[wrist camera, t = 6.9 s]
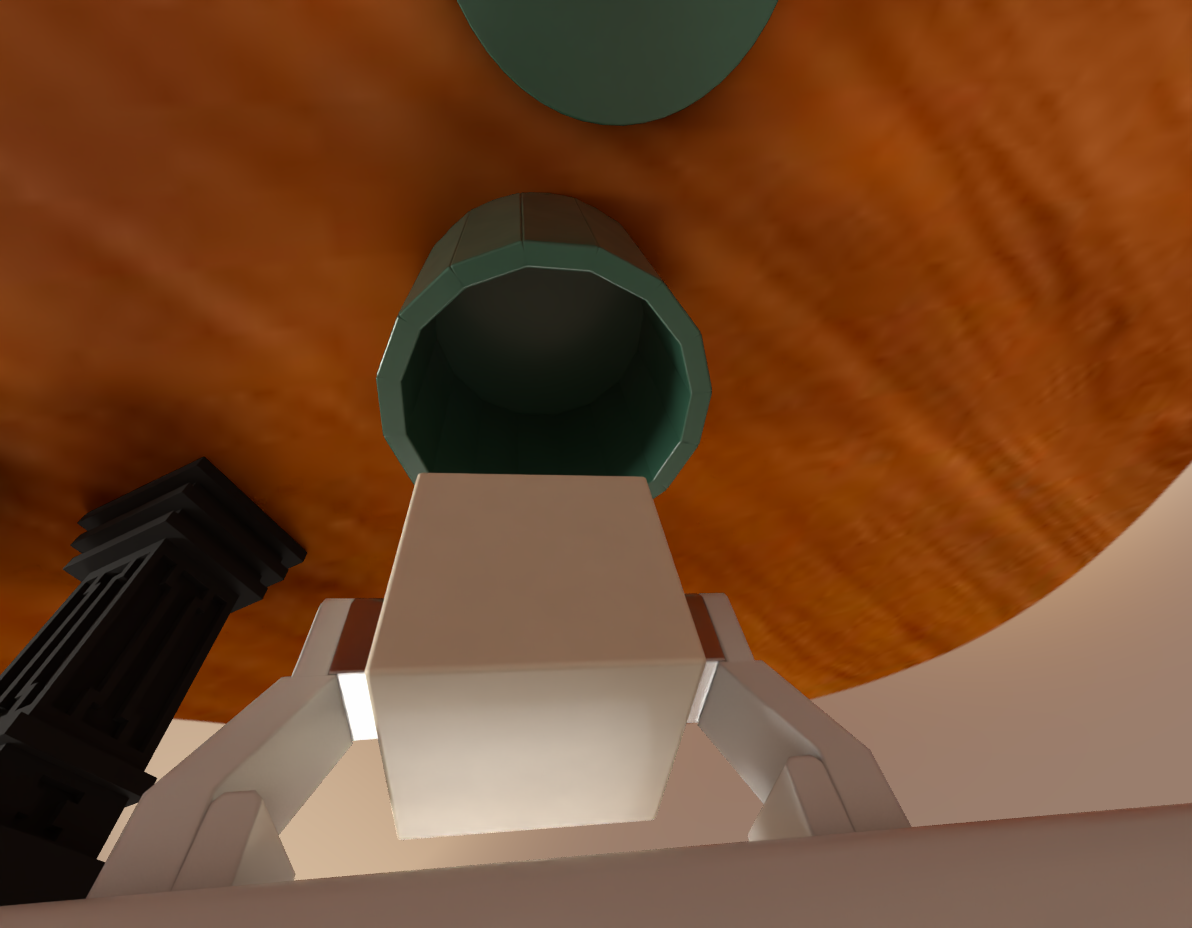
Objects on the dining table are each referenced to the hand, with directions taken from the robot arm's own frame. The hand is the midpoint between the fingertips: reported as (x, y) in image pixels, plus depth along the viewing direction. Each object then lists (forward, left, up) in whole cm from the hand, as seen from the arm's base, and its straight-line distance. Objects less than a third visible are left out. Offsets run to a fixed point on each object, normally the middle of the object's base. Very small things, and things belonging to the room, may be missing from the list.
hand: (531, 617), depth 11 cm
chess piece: (+15, -18, -20) cm, 31 cm away
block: (0, 0, -2) cm, 2 cm away
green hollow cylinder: (+1, +1, -20) cm, 20 cm away
